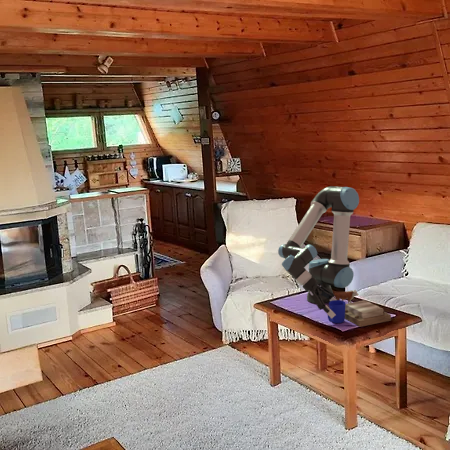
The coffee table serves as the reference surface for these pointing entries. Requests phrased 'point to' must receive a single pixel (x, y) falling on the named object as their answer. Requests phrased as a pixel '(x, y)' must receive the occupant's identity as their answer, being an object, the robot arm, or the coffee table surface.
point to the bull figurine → (345, 295)
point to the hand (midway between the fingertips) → (337, 312)
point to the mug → (337, 311)
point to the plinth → (367, 320)
